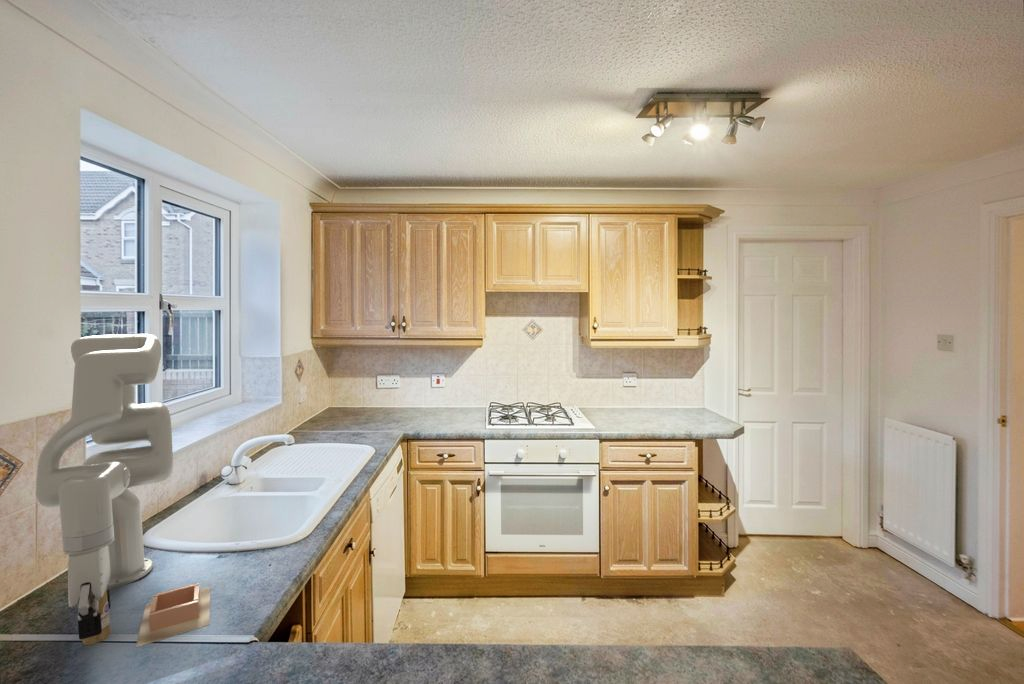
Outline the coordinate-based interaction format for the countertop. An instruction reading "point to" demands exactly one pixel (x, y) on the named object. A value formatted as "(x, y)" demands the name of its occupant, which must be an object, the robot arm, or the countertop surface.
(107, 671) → the countertop surface
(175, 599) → the collar
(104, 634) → the sprinkles bottle
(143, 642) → the stand board
